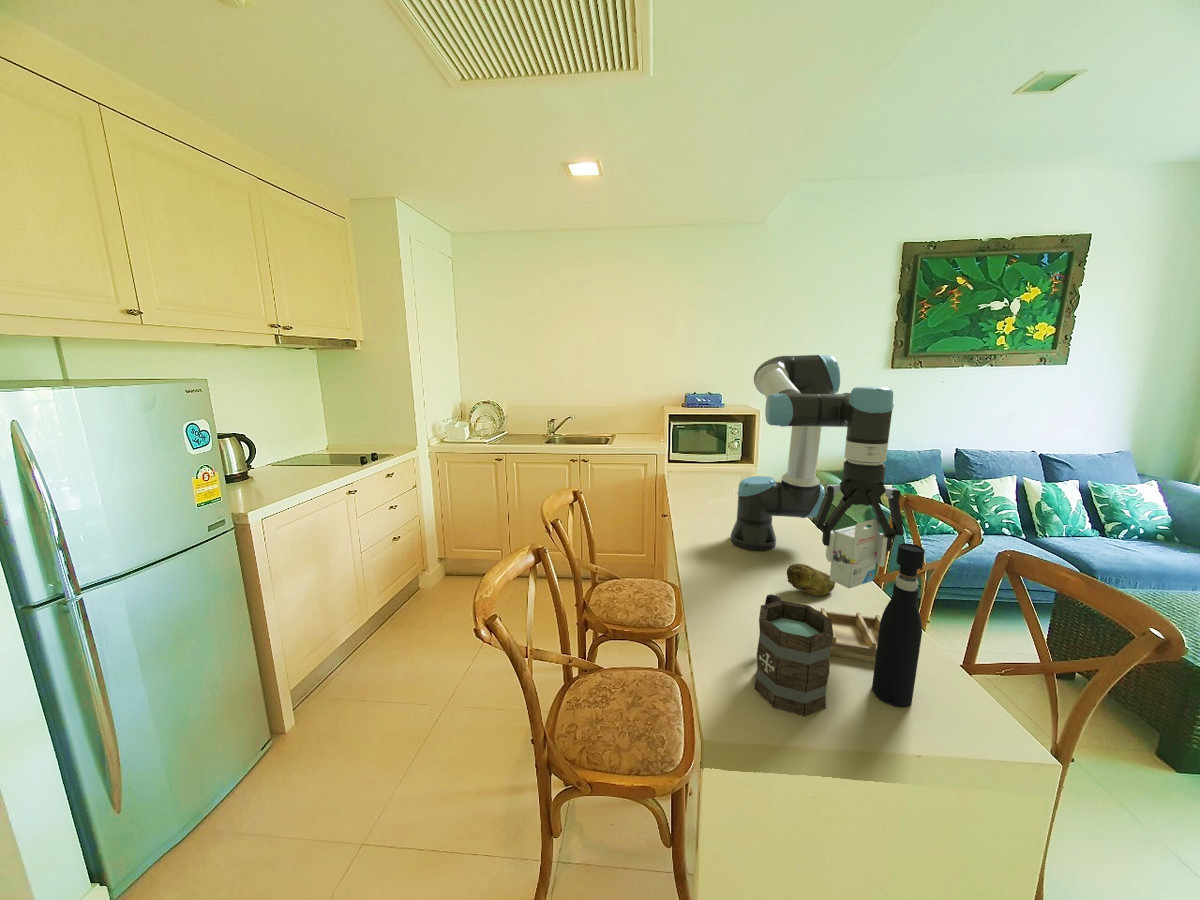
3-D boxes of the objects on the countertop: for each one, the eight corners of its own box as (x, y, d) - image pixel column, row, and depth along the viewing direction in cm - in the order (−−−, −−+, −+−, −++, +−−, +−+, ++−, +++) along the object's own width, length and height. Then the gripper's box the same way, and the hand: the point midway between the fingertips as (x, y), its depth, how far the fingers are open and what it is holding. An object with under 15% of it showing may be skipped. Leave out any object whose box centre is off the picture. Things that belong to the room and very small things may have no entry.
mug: (842, 716, 78) (850, 642, 75) (766, 716, 78) (772, 641, 75) (796, 646, 97) (801, 585, 94) (735, 646, 98) (739, 585, 95)
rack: (785, 617, 108) (786, 602, 108) (876, 629, 103) (878, 614, 102) (793, 649, 96) (794, 633, 95) (896, 665, 91) (899, 648, 90)
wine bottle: (864, 683, 86) (881, 541, 80) (894, 681, 86) (914, 539, 81) (888, 708, 80) (908, 556, 74) (920, 706, 80) (943, 554, 74)
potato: (839, 603, 115) (842, 575, 113) (787, 597, 118) (789, 569, 116) (831, 587, 122) (834, 561, 121) (782, 582, 126) (784, 556, 124)
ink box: (852, 571, 101) (859, 510, 98) (874, 581, 96) (882, 517, 93) (828, 579, 97) (834, 516, 94) (849, 589, 92) (856, 523, 90)
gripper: (810, 462, 90) (802, 563, 95) (934, 468, 85) (919, 575, 89) (804, 455, 97) (797, 549, 102) (917, 460, 92) (905, 559, 96)
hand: (854, 561), depth 95 cm, fingers closed on ink box, 9 cm apart
